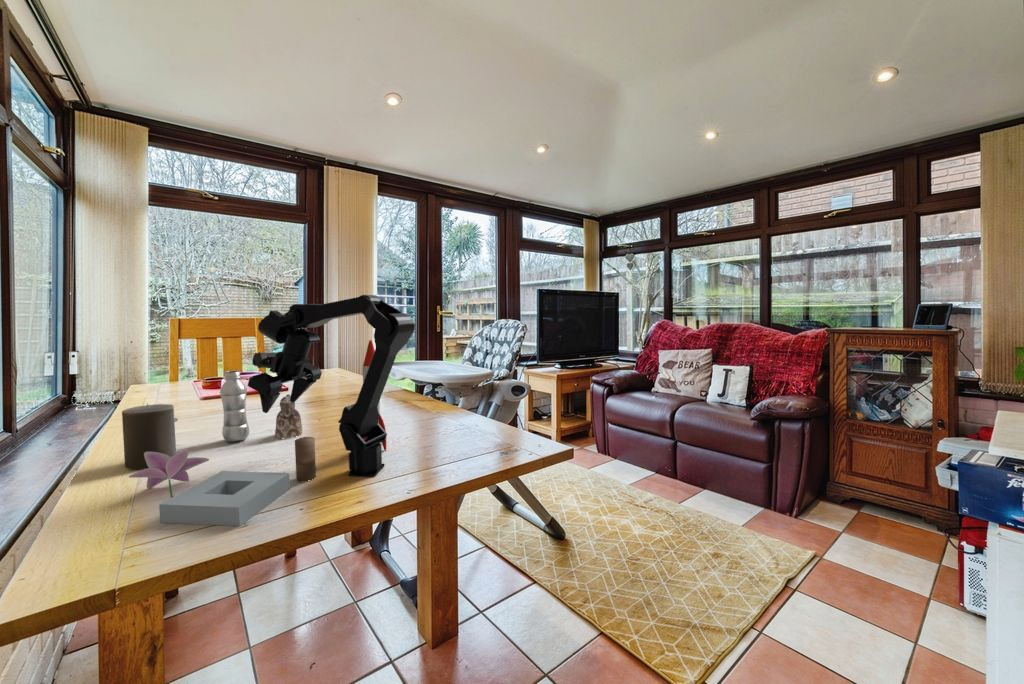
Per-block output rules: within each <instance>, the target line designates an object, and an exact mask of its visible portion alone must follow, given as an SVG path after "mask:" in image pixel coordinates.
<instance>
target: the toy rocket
mask: <svg viewBox="0 0 1024 684" xmlns="http://www.w3.org/2000/svg"><path fill="white" fill-rule="evenodd" d="M374 352H375V346H374V343H373V341H372V340H371V339H370V340H369V341H368V345H367V348H366V353H365V357H364V360H363V361H364V362H363V364H362V383H363V382H364V379H365V377H366V374H367V371H368V368H369V366H370V363H371V360H372V357H373V355H374ZM380 402H381V400H380V401H379V403H378V407H377V408H378V413H379V420H378V423H379V424H380V426H381V427H382V428H383V429H384V431H385V432H386V433H387V429H386V425H385V422H384V419H383V417H382V415H381V407H380V406H381V405H380V404H381V403H380ZM365 438H367V436H366V437H364V438H362V439H365ZM381 446H382V447H383V451H385V450H386V451H387V438H386V439H385V441H384V442H381Z"/></svg>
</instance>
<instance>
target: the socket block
mask: <svg viewBox="0 0 1024 684" xmlns="http://www.w3.org/2000/svg"><path fill="white" fill-rule="evenodd" d="M289 488H290V489H291V484H290V473H289V472H274V471H273V472H272V471H271V472H269V471H267V472H265V471H244V470H243V471H239V470H238V471H237V470H221V471H219V472H217V473H215V474H213V475H211V476H210V477H208V478H205V479H204V480H202V481H200V482H198V483H197V484H194V485H193V486H191V487H189V488H187V489H185V490H183V491H182V492H180V493H178V494H176V495H174V496H173V497H170V498H168V499H167V500H165V501H163V502H161V503H159V504H158V506H159V507H158V508H159V517H160V518H159V519H160V521H159V523H161V524H182V525H206V526H227V527H241V526H242V525H243V524H245V523H246V522H247V521H249V520H250V519H252V518H253V517H254V516H255V515H257V514H258V513H259V512H261V511H262V510H264V509H265V508H266V507H267V506H269V505H271V504H272V503H273V502H274V501H276V500H277V499H278V498H279V496H280V495H281V496H283V493H284V492H285V493H286V492H287V490H288V489H289ZM290 489H289V490H290ZM289 490H288V491H289ZM285 493H284V494H285ZM281 496H280V497H281ZM276 498H277V499H276ZM275 499H276V500H275ZM271 502H272V503H271Z"/></svg>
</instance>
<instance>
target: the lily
mask: <svg viewBox="0 0 1024 684" xmlns="http://www.w3.org/2000/svg"><path fill="white" fill-rule="evenodd" d="M189 452H190V449H188V448H187V449H184V450H182V451H179V452H176V454H175V455H174V456H172V457H170V456H168V455H166V454H162V453H158V452H145V453H144V457H145V460H146V463H147V465H148V467H149V468H147V469H140V470H138V471H136V472H134V473H132V474H130V475H129V476H128V478H147V480H146V489H147V490H148V489H152V488H155V487H156V486H158V485H160V484H161V483H163V482H165V481H166V480H168V487H169V493H170V495H169V496H170V498H172V497H174V496H173V489H172V483H171V481H172V480H174V481H180V482H185V481H187V482H190V478H189V473H188V470H189V469H192V468H194V467H196V466H198V465H201V464H203V463H206V462H208V461H210V459H209V458H206V457H192V456H191V457H188V456H189Z"/></svg>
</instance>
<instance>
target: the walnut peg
mask: <svg viewBox="0 0 1024 684" xmlns="http://www.w3.org/2000/svg"><path fill="white" fill-rule="evenodd" d="M315 444H316V439H315V437H312V436H303V437H299V438H298V437H297V438H296V439H295V440H294V453H295V454H294V455H295V457H294V458H295V475H296V476H295V477H296V479H297V480H298V481H307V482H309V481H308V480H311V481H313V480H315V479H316V478H317V469H316V468H317V466H316V445H315ZM315 477H316V478H315ZM314 478H315V479H314ZM312 479H313V480H312ZM297 480H296V481H297ZM298 481H297V482H298Z"/></svg>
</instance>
